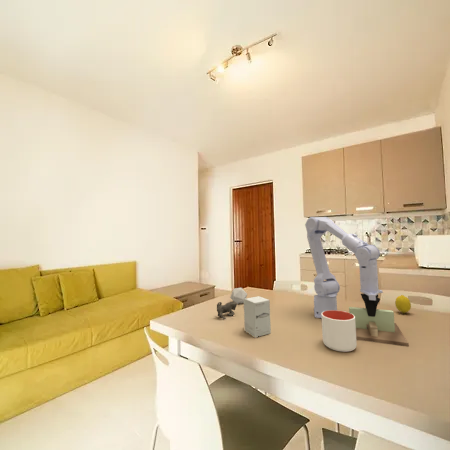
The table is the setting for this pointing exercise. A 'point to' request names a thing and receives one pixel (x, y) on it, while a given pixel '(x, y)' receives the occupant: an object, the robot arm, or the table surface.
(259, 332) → the supplement box
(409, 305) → the lemon
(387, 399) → the table surface
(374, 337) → the base
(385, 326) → the slotted plate
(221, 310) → the dog figurine
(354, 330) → the cup
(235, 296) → the die
